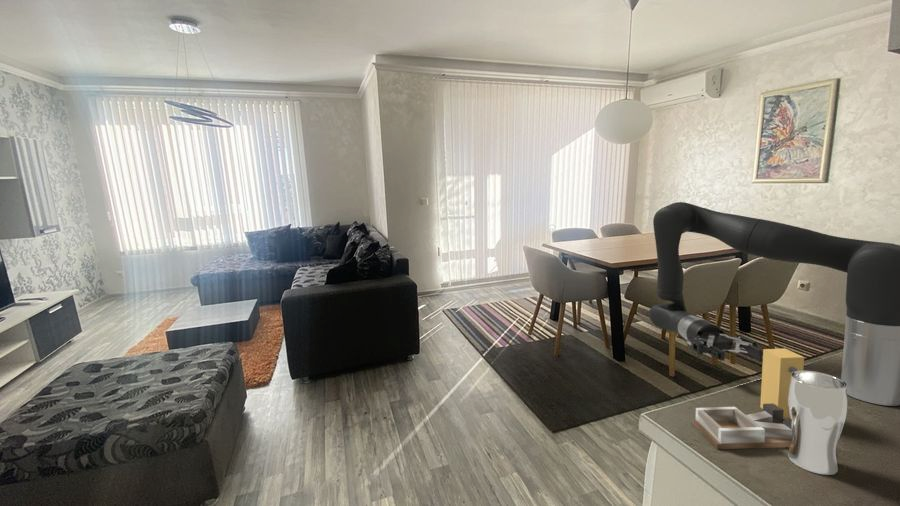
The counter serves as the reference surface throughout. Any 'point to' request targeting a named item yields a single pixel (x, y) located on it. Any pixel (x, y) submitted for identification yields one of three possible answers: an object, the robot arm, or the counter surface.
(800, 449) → the beer glass
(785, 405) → the yellow knobbed block
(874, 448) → the counter surface
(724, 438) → the coupling board
